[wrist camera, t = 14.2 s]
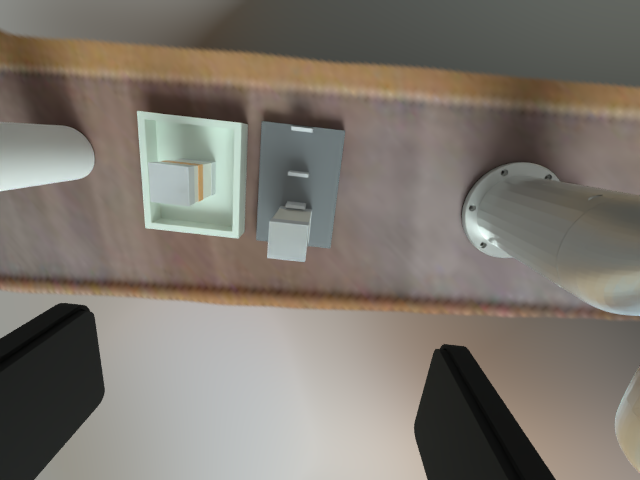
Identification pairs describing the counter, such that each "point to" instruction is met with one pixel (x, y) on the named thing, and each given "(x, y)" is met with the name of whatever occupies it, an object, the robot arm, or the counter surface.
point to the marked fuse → (181, 181)
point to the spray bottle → (42, 155)
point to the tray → (200, 144)
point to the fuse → (289, 234)
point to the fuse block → (299, 176)
